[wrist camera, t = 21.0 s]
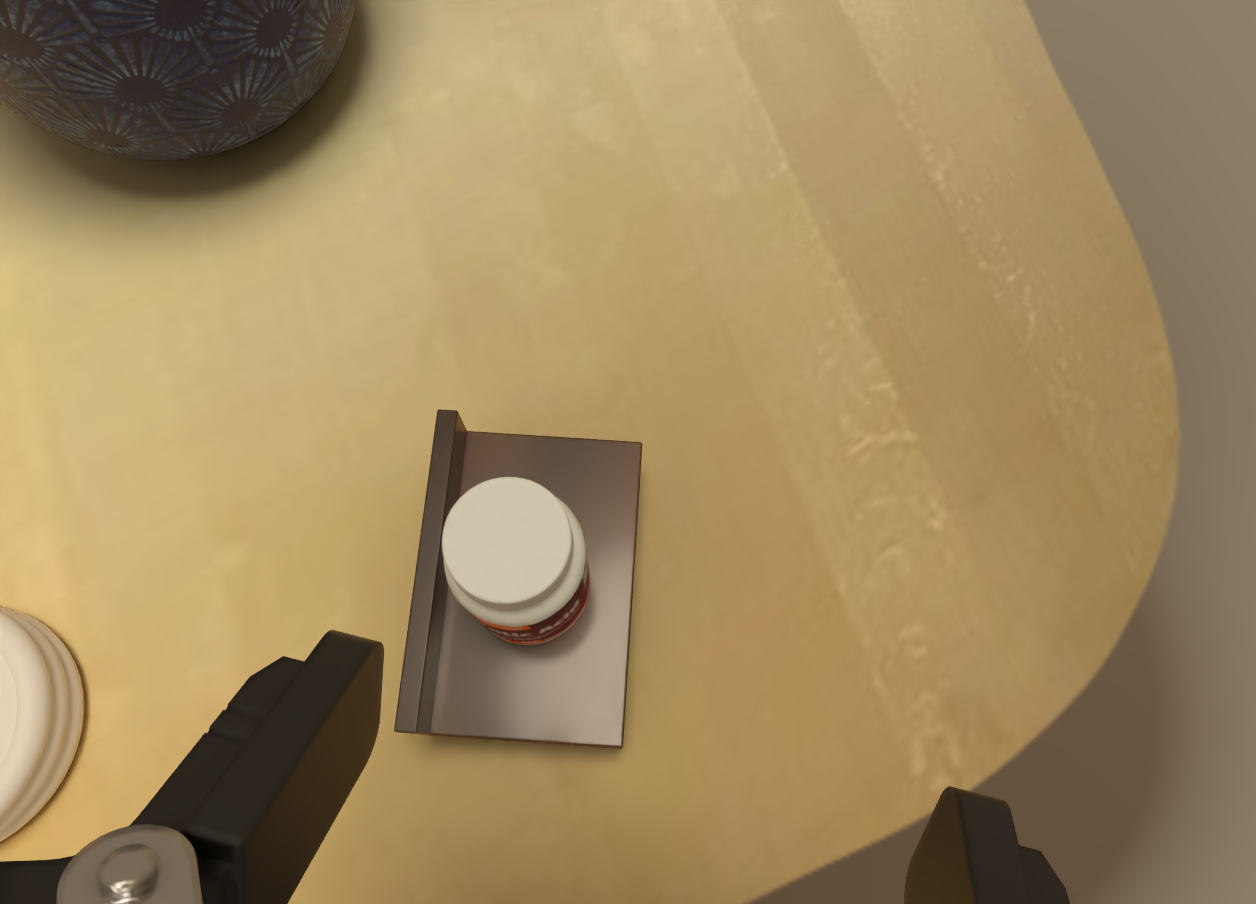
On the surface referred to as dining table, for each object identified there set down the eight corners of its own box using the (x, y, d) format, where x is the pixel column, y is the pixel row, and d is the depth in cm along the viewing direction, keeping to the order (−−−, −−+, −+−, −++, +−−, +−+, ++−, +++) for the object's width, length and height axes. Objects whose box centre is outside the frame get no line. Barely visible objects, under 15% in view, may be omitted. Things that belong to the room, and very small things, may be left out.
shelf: (640, 469, 42) (643, 422, 36) (622, 748, 39) (622, 747, 33) (463, 458, 43) (437, 408, 36) (429, 735, 39) (393, 731, 33)
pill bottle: (484, 661, 36) (444, 635, 28) (459, 542, 37) (414, 484, 29) (605, 628, 36) (600, 594, 28) (575, 512, 38) (563, 448, 30)
